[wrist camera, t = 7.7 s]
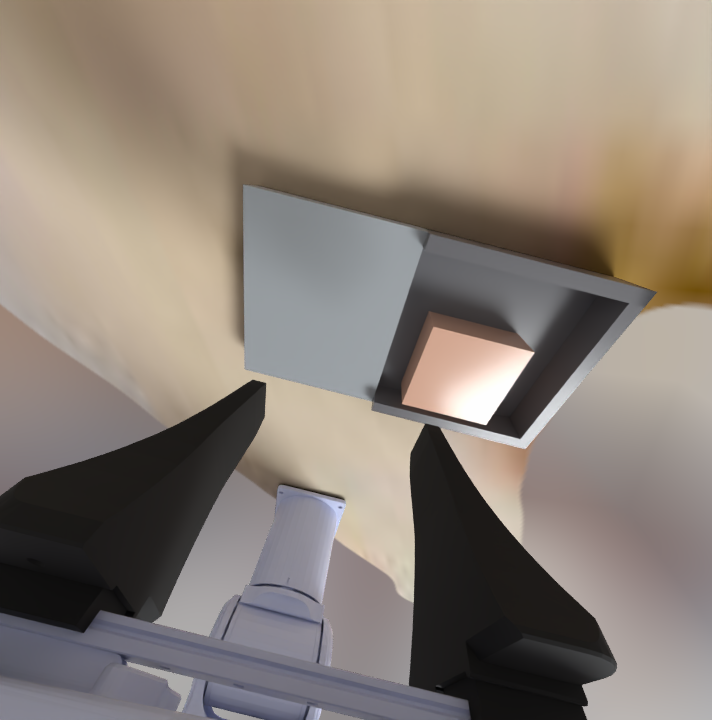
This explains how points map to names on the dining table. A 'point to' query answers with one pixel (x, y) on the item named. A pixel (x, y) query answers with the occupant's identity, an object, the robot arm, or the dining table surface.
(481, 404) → the block
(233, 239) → the dining table surface
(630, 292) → the box
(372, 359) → the slate plate
